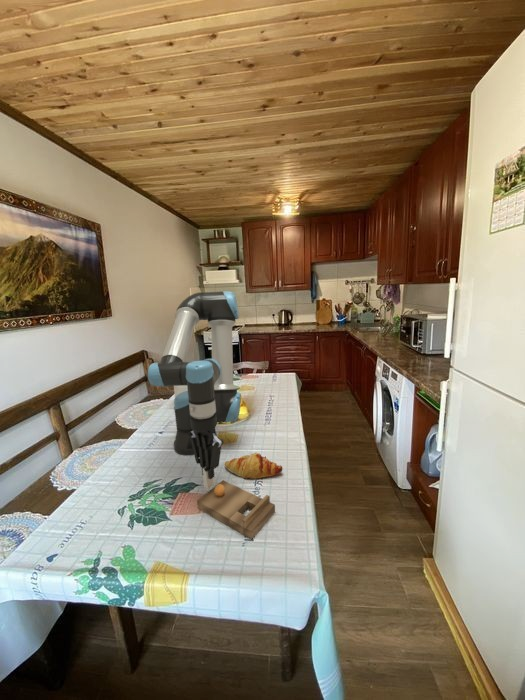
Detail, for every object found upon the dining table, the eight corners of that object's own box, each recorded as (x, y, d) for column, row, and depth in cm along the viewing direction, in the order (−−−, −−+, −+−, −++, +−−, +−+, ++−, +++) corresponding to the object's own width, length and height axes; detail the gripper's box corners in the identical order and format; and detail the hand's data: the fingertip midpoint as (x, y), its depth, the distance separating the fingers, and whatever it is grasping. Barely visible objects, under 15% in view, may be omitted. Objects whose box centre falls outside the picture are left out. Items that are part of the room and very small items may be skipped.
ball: (212, 495, 85) (211, 486, 84) (219, 489, 88) (219, 480, 87) (220, 500, 83) (219, 490, 83) (227, 493, 86) (227, 484, 85)
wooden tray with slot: (197, 508, 84) (196, 494, 83) (223, 487, 93) (222, 474, 92) (251, 539, 72) (250, 524, 71) (275, 512, 81) (274, 498, 80)
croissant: (222, 482, 101) (217, 470, 96) (230, 456, 108) (225, 444, 103) (282, 487, 96) (279, 475, 91) (285, 460, 103) (282, 447, 98)
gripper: (178, 413, 84) (185, 485, 88) (209, 424, 76) (215, 501, 81) (197, 405, 90) (203, 472, 94) (228, 414, 82) (233, 487, 86)
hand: (209, 486), depth 87 cm, fingers closed
